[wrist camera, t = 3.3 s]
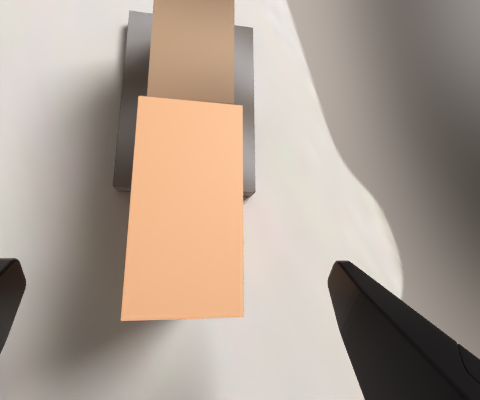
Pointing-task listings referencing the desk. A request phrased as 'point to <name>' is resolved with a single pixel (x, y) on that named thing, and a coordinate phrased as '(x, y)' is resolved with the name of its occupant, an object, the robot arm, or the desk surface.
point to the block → (185, 212)
